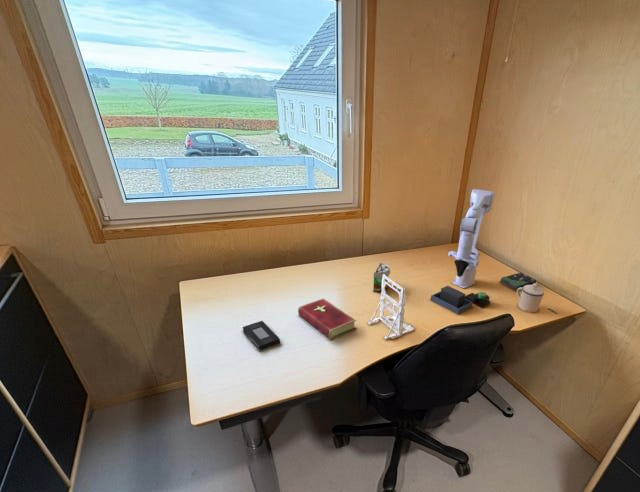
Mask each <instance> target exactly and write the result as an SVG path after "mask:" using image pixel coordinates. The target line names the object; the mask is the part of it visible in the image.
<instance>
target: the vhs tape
mask: <svg viewBox="0 0 640 492" xmlns="http://www.w3.org/2000/svg"><path fill="white" fill-rule="evenodd" d="M242 331H243V333H244V334H245V335H246V337H247V338H248V339H249V340H250V341H251V343H252V344H253V345H254V346H255V347H256V348H257V350H258V351H259V352H261V351H263V350H266V349H269V348H271V347H274V346H277V345H279V344H281V339H280V338H279V336H278V335H277V334H276V332H274V331H273V330H272V329H271V328H270V327H269V326H268V325H267V324H266V323H265V322H264V321H263V320H260V321H259V320H258V321H257V322H254V323H250V324H248V325H244V326H242Z"/></svg>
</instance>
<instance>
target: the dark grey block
mask: <svg viewBox="0 0 640 492" xmlns="http://www.w3.org/2000/svg"><path fill="white" fill-rule="evenodd" d="M440 291H441V294H440V299H441V300H443V301H445V302H446V303H448V304H450V305H452V306H454V307H456V308H460V307H462V306H463V303H464V298H465V296H466V295H467V294H466V293H465V292H462V291H460V290H458V289H456V288H454V287H452V286H449V285H446V286H444V287H441V288H440Z"/></svg>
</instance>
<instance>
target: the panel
mask: <svg viewBox="0 0 640 492" xmlns="http://www.w3.org/2000/svg"><path fill="white" fill-rule="evenodd" d="M478 294H479V292H477V293H474V292H470V293H468V294H466V295H465V299H467V300H469V301H471V302H473V305H475V306H476V307H479V308H481V309H484V308H486V307H487V306H489V305H491V302H492V301H491V300H490V298H491V297H490V296H489V295H488V294H487V296H486V299H480V298H478Z"/></svg>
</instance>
